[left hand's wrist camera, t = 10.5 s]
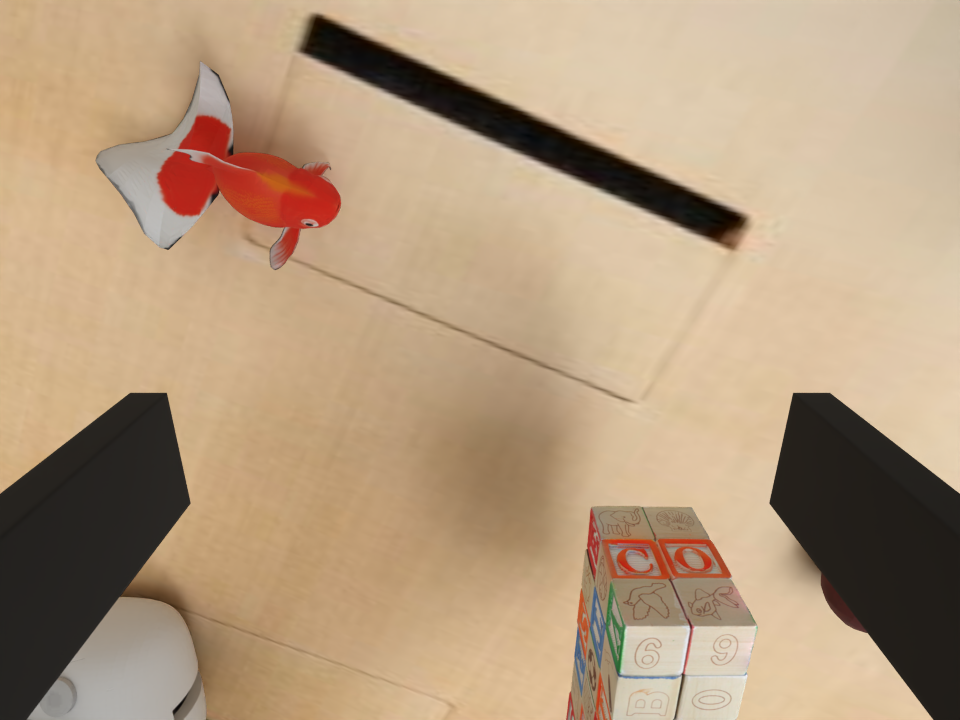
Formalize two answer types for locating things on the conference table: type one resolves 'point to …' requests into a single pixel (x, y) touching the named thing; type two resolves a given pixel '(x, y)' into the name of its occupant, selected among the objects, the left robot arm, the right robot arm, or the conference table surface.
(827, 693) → the conference table surface
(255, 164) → the fish
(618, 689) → the stack of blocks
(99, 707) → the projector
